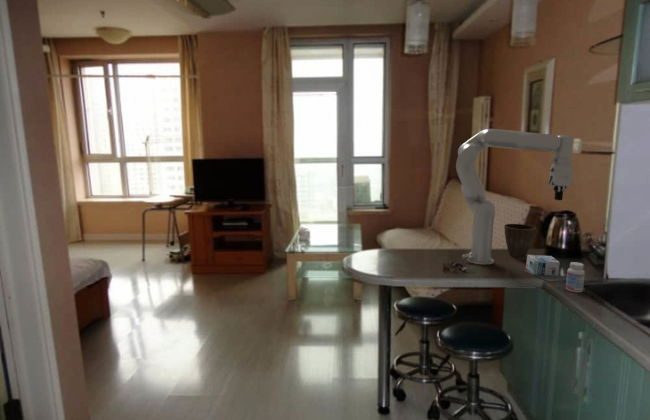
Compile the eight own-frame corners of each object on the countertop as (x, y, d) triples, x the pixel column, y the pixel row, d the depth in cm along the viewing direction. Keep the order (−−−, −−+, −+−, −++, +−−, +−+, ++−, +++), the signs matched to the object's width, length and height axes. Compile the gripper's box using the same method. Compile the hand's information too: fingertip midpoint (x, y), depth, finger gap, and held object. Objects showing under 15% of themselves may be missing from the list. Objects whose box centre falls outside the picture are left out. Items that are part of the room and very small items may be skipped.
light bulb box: (560, 262, 183) (534, 260, 184) (558, 276, 184) (532, 275, 185) (551, 255, 193) (526, 254, 195) (549, 269, 194) (525, 268, 196)
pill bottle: (562, 287, 170) (564, 261, 168) (576, 287, 170) (578, 261, 169) (572, 293, 164) (574, 266, 162) (586, 292, 165) (589, 265, 163)
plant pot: (523, 252, 225) (526, 223, 223) (539, 259, 211) (541, 229, 208) (497, 252, 225) (499, 223, 222) (510, 260, 210) (513, 229, 207)
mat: (548, 281, 177) (548, 281, 177) (523, 270, 193) (523, 270, 193) (570, 280, 180) (570, 279, 180) (543, 269, 195) (543, 268, 195)
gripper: (554, 162, 190) (550, 201, 193) (581, 161, 193) (577, 200, 196) (542, 161, 197) (539, 199, 200) (568, 161, 200) (565, 198, 203)
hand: (558, 199), depth 198 cm, fingers closed
